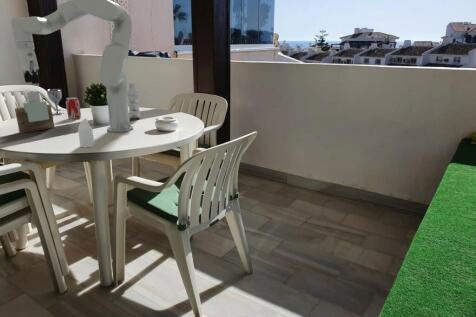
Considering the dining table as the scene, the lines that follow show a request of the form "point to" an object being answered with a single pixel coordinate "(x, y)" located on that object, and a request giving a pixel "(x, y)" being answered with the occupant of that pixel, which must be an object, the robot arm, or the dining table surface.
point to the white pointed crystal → (85, 134)
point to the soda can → (73, 108)
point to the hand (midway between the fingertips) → (32, 82)
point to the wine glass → (55, 98)
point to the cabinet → (35, 107)
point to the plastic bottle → (133, 102)
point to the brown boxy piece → (32, 126)
